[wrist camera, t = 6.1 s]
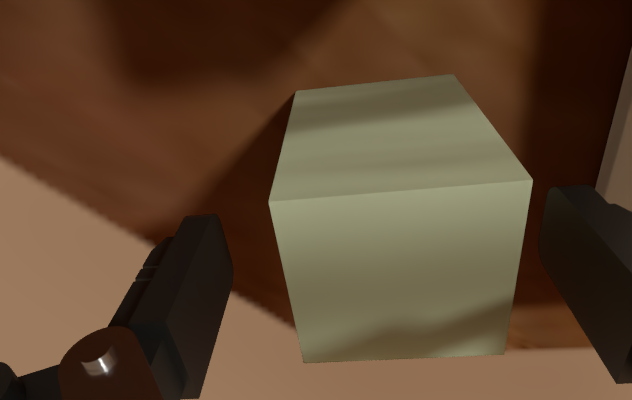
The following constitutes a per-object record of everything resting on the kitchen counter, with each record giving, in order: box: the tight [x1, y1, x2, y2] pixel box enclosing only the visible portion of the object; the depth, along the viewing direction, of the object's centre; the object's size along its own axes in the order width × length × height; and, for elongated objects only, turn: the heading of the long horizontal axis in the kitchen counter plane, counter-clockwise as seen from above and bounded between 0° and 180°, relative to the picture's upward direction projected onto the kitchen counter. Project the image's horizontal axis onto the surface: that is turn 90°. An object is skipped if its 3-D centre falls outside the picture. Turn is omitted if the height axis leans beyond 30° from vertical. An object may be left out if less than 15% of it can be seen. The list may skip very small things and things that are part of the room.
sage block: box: [268, 74, 533, 363], centre depth 11 cm, size 4×4×6 cm
